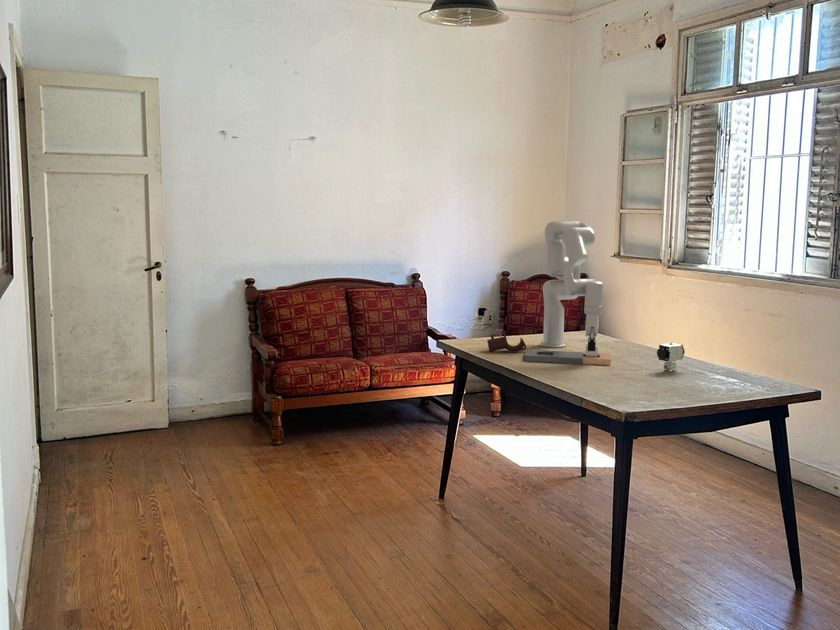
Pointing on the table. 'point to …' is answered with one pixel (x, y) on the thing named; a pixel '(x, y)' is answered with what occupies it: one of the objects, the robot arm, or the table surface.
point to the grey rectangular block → (591, 352)
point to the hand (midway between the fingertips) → (591, 348)
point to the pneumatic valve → (670, 354)
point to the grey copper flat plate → (567, 357)
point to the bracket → (504, 344)
